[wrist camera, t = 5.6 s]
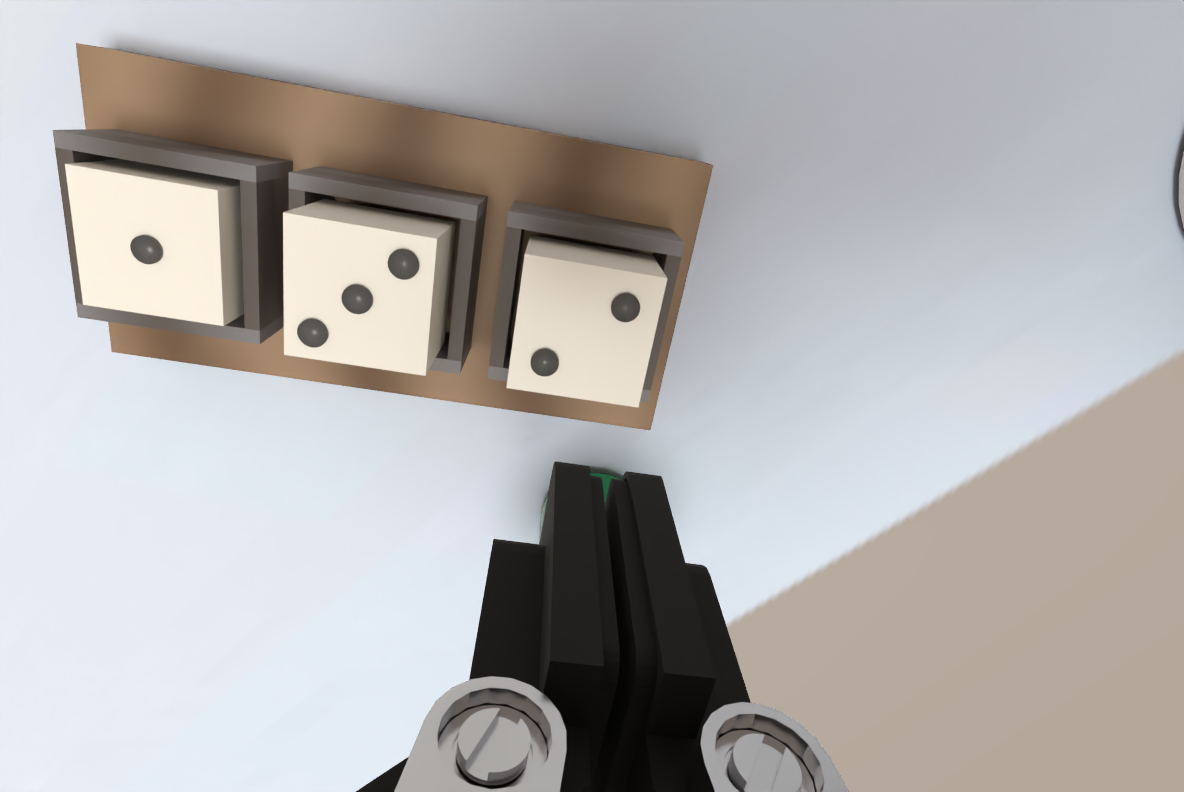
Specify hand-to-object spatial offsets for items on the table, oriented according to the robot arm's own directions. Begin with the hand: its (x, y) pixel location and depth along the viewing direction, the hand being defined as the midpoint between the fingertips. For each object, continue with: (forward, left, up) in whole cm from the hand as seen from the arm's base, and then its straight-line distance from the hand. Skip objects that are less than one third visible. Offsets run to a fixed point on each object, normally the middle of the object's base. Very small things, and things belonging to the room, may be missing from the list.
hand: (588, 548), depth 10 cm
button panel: (+7, 0, -19) cm, 20 cm away
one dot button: (+14, 0, -16) cm, 21 cm away
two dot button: (0, 0, -15) cm, 15 cm away
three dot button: (+7, 0, -15) cm, 16 cm away
